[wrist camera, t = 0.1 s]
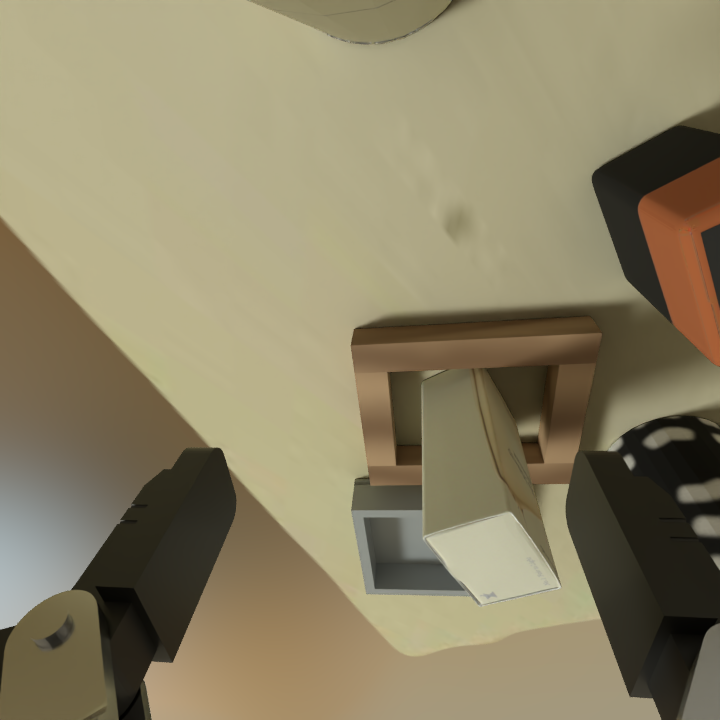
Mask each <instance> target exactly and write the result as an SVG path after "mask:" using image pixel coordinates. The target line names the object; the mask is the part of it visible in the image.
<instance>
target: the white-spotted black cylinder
mask: <svg viewBox="0 0 720 720" xmlns="http://www.w3.org/2000/svg"><path fill="white" fill-rule="evenodd" d="M608 451H617V452H618V453H620V454H621V456H622V457H623V459H624V460H625V462H626V464H627V466H628V467H629V469H630V471H631V472H632V474H633V476H640V477H649V478H650V479H651V480H652V481H654V482H655V483H656V484H657V485H658V486H660V487H661V488H662V489H663V490H664V491H666V492H667V493H668V494H669V495H671V497H672V498H673V500H674V501H675V503H676V504H677V506H678V507H679V509H680V510H681V512H682V513H683V515H684V516H685V518H686V523H689V524H690V526H691V527H692V529H693V530H694V532H695V533H696V535H697V536H698V540H699V542H700V543H702V544H703V545H704V547H705V548H706V550H707V551H708V553H709V554H710V556H711V557H712V559H713V560H714V562H715V564H716V565H717V567H718V568H719V570H720V426H719V425H718V424H716V423H714V422H711V421H709V420H706V419H702V418H698V417H690V416H675V417H667V418H662V419H656V420H653V421H650V422H647V423H644V424H642V425H640V426H638V427H636V428H634V429H632V430H630V431H629V432H627V433H625V434H624V435H622V436H621V437H620V438H619V439H618V440H617V441H616V442H614V443H613V444H612V446H611V447H610V448H609V450H608Z"/></svg>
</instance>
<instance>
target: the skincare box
mask: <svg viewBox="0 0 720 720" xmlns="http://www.w3.org/2000/svg"><path fill="white" fill-rule="evenodd" d="M421 388H422V514H423V540H424V542H425V543H426V544H427V545H428V547H429V548H430V549H431V550H432V552H433V553H434V554H435V555H436V556H437V558H438V559H439V560H440V561H441V563H442V564H443V565H444V566H445V568H446V569H447V570H448V571H449V573H450V574H451V575H452V576H453V577H454V578H455V579H456V580H457V582H458V583H459V584H460V585H461V586H462V587H463V588H464V590H465V591H466V592H467V593H468V594H469V595H470V596H471V598H472V599H473V600H474V601H475V602H476V603H477V605H478V606H480V607H482V606H486V605H489V604H494V603H499V602H503V601H507V600H513V599H517V598H522V597H526V596H531V595H535V594H539V593H543V592H548V591H552V590H557V589H560V588H561V583H560V580H559V577H558V573H557V570H556V567H555V564H554V560H553V557H552V553H551V549H550V546H549V542H548V539H547V535H546V532H545V528H544V524H543V521H542V517H541V514H540V510H539V507H538V503H537V499H536V496H535V492H534V488H533V485H532V481H531V477H530V474H529V470H528V466H527V463H526V459H525V455H524V451H523V448H522V444H521V440H520V437H519V433H518V429H517V426H516V422H515V420H514V418H513V416H512V414H511V413H510V411H509V409H508V407H507V405H506V403H505V401H504V400H503V398H502V396H501V394H500V392H499V391H498V389H497V387H496V386H495V384H494V382H493V380H492V379H491V377H490V375H489V374H488V372H487V370H486V368H472V369H450V370H447V371H445V372H443V373H440V374H438V375H436V376H433V377H431V378H429V379H427V380H424V381H423V382H422V384H421Z"/></svg>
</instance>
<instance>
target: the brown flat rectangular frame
mask: <svg viewBox="0 0 720 720" xmlns="http://www.w3.org/2000/svg"><path fill="white" fill-rule="evenodd" d="M601 338H602V332H601V330H600V329H599V328H598V326H597V325H596V323H595V322H594V321H593V319H592V318H591V317H590V316H582V317H563V318H545V319H527V320H509V321H491V322H473V323H455V324H437V325H419V326H401V327H383V328H364V329H354V332H353V337H352V342H351V351H352V358H353V365H354V372H355V379H356V386H357V393H358V400H359V408H360V415H361V422H362V429H363V436H364V443H365V450H366V457H367V464H368V472H369V479H370V486H383V485H422V445H409V446H396V435H395V424H394V412H393V401H392V390H391V379H390V372H401V371H424V370H448V369H472V368H495V367H519V366H543V365H548V368H547V376H546V383H545V390H544V397H543V405H542V412H541V419H540V427H539V434H538V441H537V443H521V444H522V448H523V451H524V455H525V459H526V463H527V466H528V470H529V474H530V477H531V481H532V484H570V479H571V474H572V469H573V464H574V459H575V456H576V454H577V452H578V450H579V445H580V440H581V435H582V430H583V425H584V420H585V416H586V411H587V406H588V401H589V396H590V391H591V386H592V381H593V377H594V372H595V367H596V362H597V357H598V352H599V347H600V342H601Z"/></svg>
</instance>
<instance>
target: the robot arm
mask: <svg viewBox="0 0 720 720" xmlns="http://www.w3.org/2000/svg"><path fill="white" fill-rule="evenodd" d="M248 1H250V2H253V3H255V4H258V5H260V6H262V7H265V8H267V9H270V10H272V11H274V12H277V13H279V14H282V15H284V16H287V17H289V18H291V19H294V20H296V21H299V22H301V23H303V24H306V25H308V26H311V27H313V28H315V29H318V30H320V31H323V32H325V33H327V35H328V36H331V37H333V38H336V39H339V40H342V41H345V42H350V43H351V42H353V43H355V44H367V45H371V44H384V43H388V42H392V41H395V40H399V39H403V38H405V37H407V36H409V35H411V34H413V33H415V32H417V31H418V30H420V29H422V28H424V27H425V26H427V25H428V24H429V23H430V22H432V21H433V20H434V19H435V18H436V17H437V16H438V15H439V14H440V13H442V12H443V11H444V10H445V9H446V8H447V6H448V5H449V4H450V2H451V1H452V0H248ZM131 505H132V506H131V508H128V510H127V511H126V513H125V514H124V516H123V517H122V518H121V522H120V524H117V526H116V527H115V528H114V530H113V531H112V533H111V534H110V536H109V537H108V539H107V540H106V541H105V543H104V544H103V546H102V547H101V548H100V550H99V551H98V553H97V554H96V556H95V557H94V559H93V560H92V561H91V563H90V564H89V566H88V567H87V569H86V570H85V572H84V573H83V574H82V576H81V577H80V579H79V580H78V581H77V583H76V584H75V586H74V587H73V588H72V589H71V590H70V591H65V592H62V593H59V594H56V595H54V596H52V597H50V598H48V599H46V600H44V601H43V602H41V603H40V604H38V605H37V606H35V607H34V608H33V609H32V610H30V611H29V612H28V613H27V614H26V615H25V616H24V617H23V618H22V619H21V620H20V621H19V623H18V624H17V625H16V626H13V627H9V628H5V629H2V630H0V720H152V719H151V713H150V708H149V702H148V696H147V690H146V685H145V682H144V680H143V679H144V677H145V674H146V672H147V670H148V668H149V666H150V664H151V661H155V662H170V663H172V662H173V660H174V658H175V656H176V653H177V651H178V649H179V646H180V644H181V642H182V639H183V637H184V635H185V632H186V630H187V628H188V625H189V623H190V621H191V618H192V616H193V614H194V611H195V609H196V606H197V604H198V602H199V600H200V597H201V595H202V593H203V590H204V588H205V586H206V583H207V581H208V578H209V576H210V574H211V571H212V569H213V566H214V564H215V562H216V560H217V557H218V555H219V552H220V550H221V548H222V546H223V543H224V541H225V539H226V536H227V534H228V532H229V529H230V527H231V524H232V522H233V519H234V516H235V511H236V494H235V490H234V487H233V484H232V480H231V477H230V474H229V470H228V467H227V463H226V460H225V456H224V453H223V451H222V450H221V449H220V448H186V449H185V450H184V451H183V452H182V454H181V455H180V457H179V459H178V460H177V461H176V463H175V464H174V466H173V468H172V469H169V470H168V469H164V470H163V471H161V472H160V473H159V474H158V475H157V476H155V477H154V478H153V479H152V480H151V481H149V482H148V483H147V484H146V485H144V487H143V488H142V490H141V491H140V493H139V494H138V496H137V497H136V498H135V500H134V501H133V503H132V504H131ZM566 519H567V525H568V529H569V532H570V535H571V538H572V540H573V543H574V546H575V549H576V551H577V554H578V557H579V559H580V562H581V565H582V568H583V570H584V573H585V576H586V579H587V581H588V584H589V587H590V589H591V592H592V595H593V598H594V600H595V603H596V606H597V609H598V611H599V614H600V617H601V620H602V622H603V625H604V628H605V630H606V633H607V636H608V638H609V641H610V644H611V647H612V649H613V652H614V655H615V658H616V660H617V663H618V666H619V669H620V671H621V674H622V677H623V680H624V682H625V685H626V688H627V691H628V693H629V696H630V697H640V698H653V699H654V702H655V704H656V707H657V709H658V712H659V714H660V717H661V720H720V570H719V568H718V567H717V565H716V564H715V562H714V560H713V559H712V557H711V556H710V554H709V553H708V551H707V550H706V548H705V547H704V545H703V544H702V543H700V542H699V540H698V536H697V535H696V533H695V532H694V530H693V529H692V527H691V526H690V524H689V523H686V518H685V516H684V515H683V513H682V512H681V510H680V509H679V507H678V506H677V504H676V503H675V501H674V500H673V498H672V497H671V495H669V494H668V493H667V492H666V491H664V490H663V489H662V488H661V487H660V486H658V485H657V484H656V483H655V482H654V481H652V480H651V479H650V478H649V477H640V476H633V474H632V472H631V471H630V469H629V467H628V466H627V464H626V462H625V460H624V459H623V457H622V456H621V454H620V453H618V452H617V451H578V452H577V454H576V456H575V459H574V464H573V469H572V474H571V479H570V484H569V489H568V494H567V499H566Z"/></svg>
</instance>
